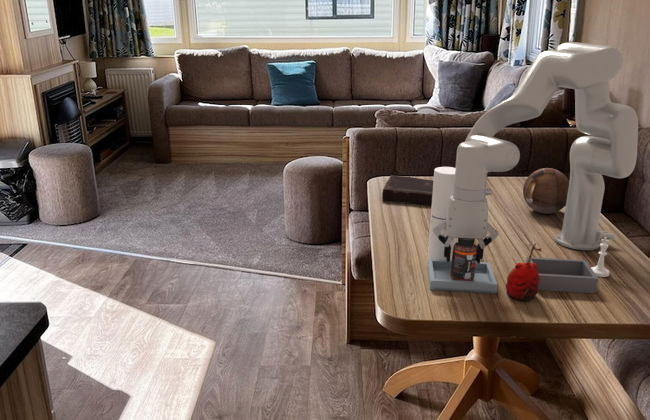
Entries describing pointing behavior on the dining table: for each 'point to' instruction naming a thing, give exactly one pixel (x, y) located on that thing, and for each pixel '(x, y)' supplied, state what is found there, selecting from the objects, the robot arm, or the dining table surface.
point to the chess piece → (601, 261)
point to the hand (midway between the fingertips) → (462, 260)
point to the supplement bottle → (464, 260)
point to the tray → (443, 281)
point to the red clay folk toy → (523, 280)
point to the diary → (408, 190)
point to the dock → (565, 275)
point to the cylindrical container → (440, 210)
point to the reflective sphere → (546, 190)
